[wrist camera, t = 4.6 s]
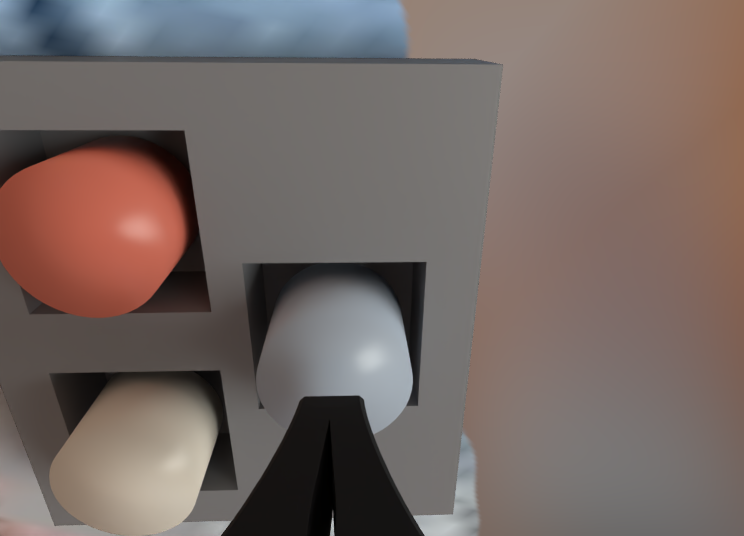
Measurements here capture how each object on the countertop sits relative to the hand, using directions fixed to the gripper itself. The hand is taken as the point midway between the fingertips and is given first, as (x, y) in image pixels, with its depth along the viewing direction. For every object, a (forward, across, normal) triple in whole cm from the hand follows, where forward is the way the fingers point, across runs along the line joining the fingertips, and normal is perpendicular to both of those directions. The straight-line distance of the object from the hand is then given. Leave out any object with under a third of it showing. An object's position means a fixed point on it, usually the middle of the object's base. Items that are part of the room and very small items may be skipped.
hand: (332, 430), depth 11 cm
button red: (+6, +6, -4) cm, 9 cm away
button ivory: (+5, +6, +3) cm, 9 cm away
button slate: (+5, 0, 0) cm, 5 cm away
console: (+7, +3, 0) cm, 7 cm away
